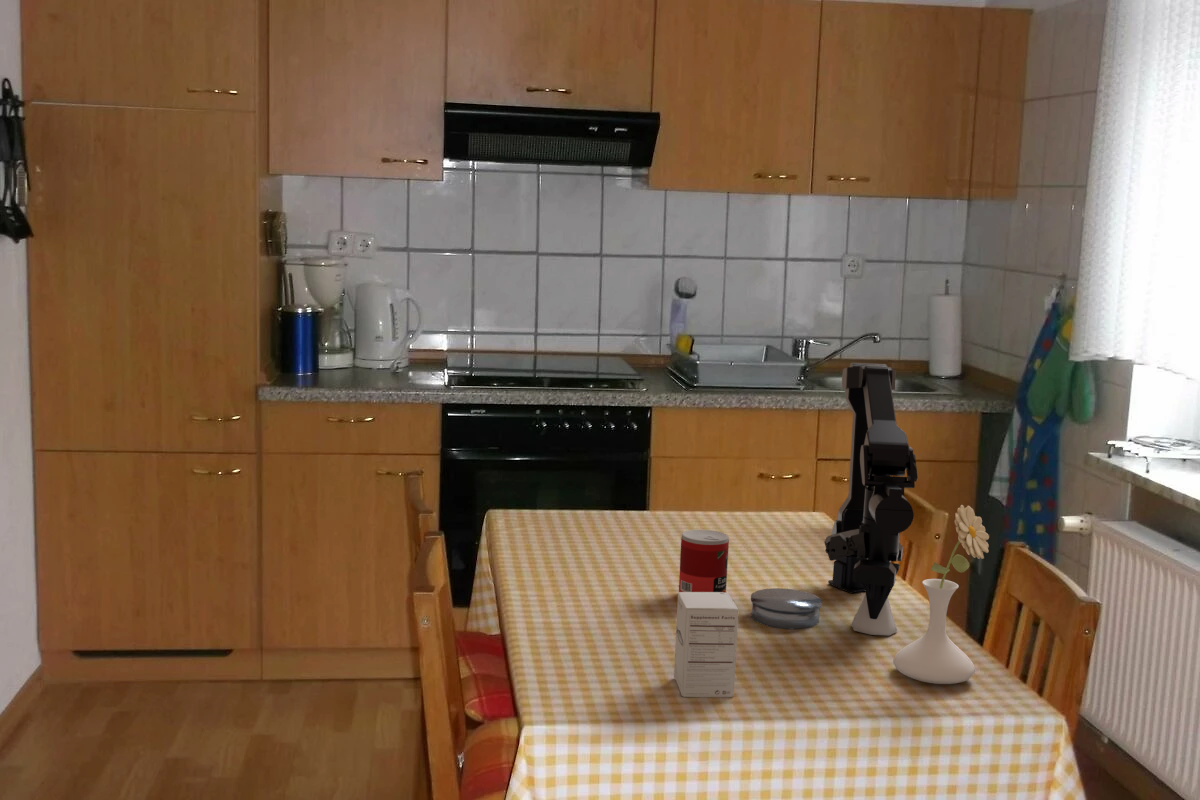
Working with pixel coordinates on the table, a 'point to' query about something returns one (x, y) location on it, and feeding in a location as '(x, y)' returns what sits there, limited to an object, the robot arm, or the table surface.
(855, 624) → the flask
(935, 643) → the flower in vase
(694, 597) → the supplement box
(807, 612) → the biscuit tin
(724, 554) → the canned food
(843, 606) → the table surface
